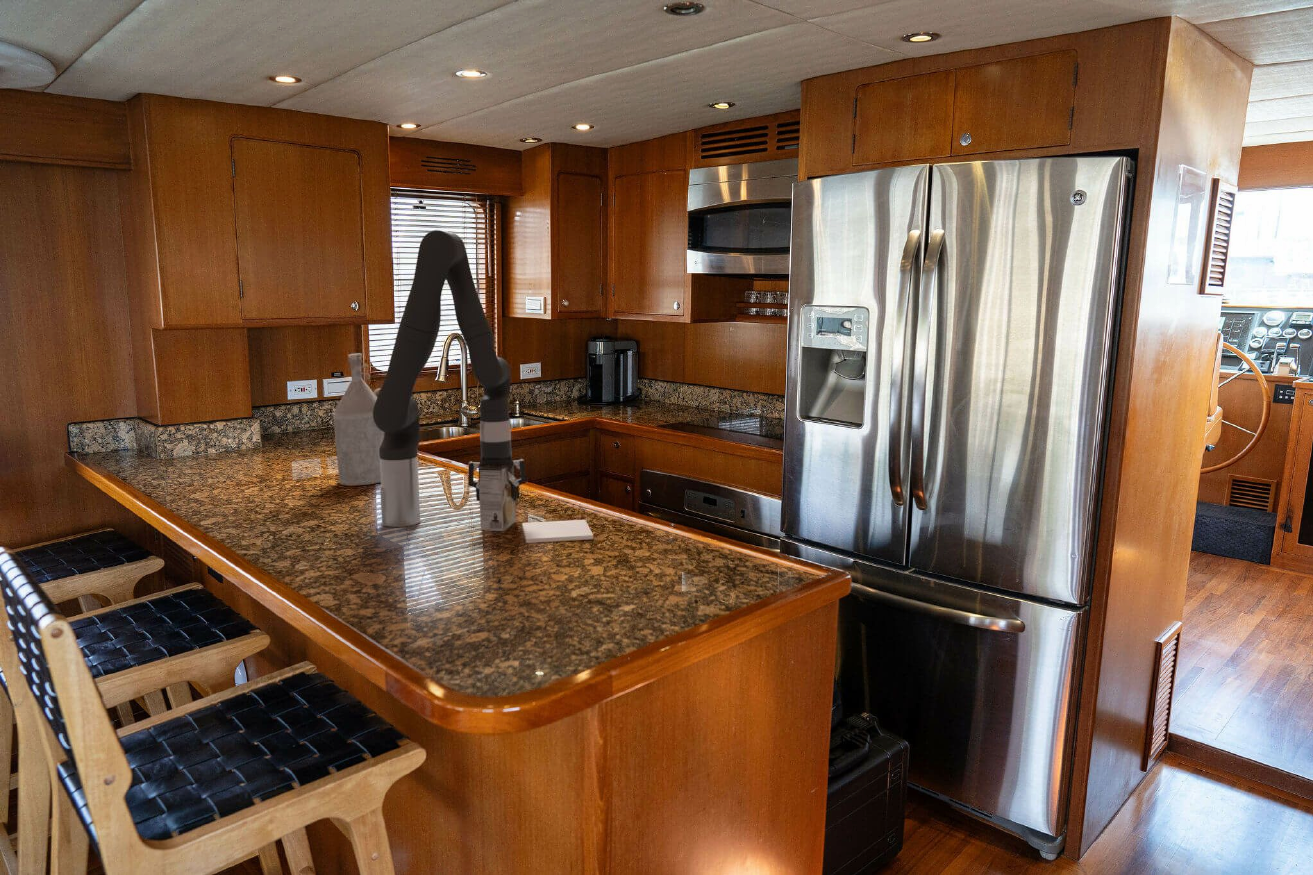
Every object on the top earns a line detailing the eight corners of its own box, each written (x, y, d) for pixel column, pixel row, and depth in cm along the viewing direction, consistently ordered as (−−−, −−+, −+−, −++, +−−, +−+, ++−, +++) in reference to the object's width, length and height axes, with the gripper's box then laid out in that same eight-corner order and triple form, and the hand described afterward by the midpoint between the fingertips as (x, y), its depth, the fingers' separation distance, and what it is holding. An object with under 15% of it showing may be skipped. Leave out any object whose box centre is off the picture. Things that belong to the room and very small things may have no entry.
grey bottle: (402, 479, 269) (395, 352, 261) (351, 489, 256) (343, 355, 248) (379, 473, 277) (373, 350, 270) (329, 482, 264) (321, 353, 257)
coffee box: (492, 520, 223) (491, 460, 220) (516, 521, 222) (515, 461, 219) (479, 530, 214) (477, 467, 211) (504, 531, 213) (502, 468, 210)
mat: (526, 543, 204) (526, 538, 203) (522, 526, 217) (522, 523, 217) (593, 539, 207) (593, 535, 207) (585, 523, 220) (585, 519, 220)
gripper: (466, 442, 208) (469, 506, 211) (525, 439, 211) (527, 503, 214) (466, 436, 216) (469, 499, 219) (523, 434, 219) (525, 496, 222)
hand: (498, 501), depth 216 cm, fingers open, 8 cm apart
